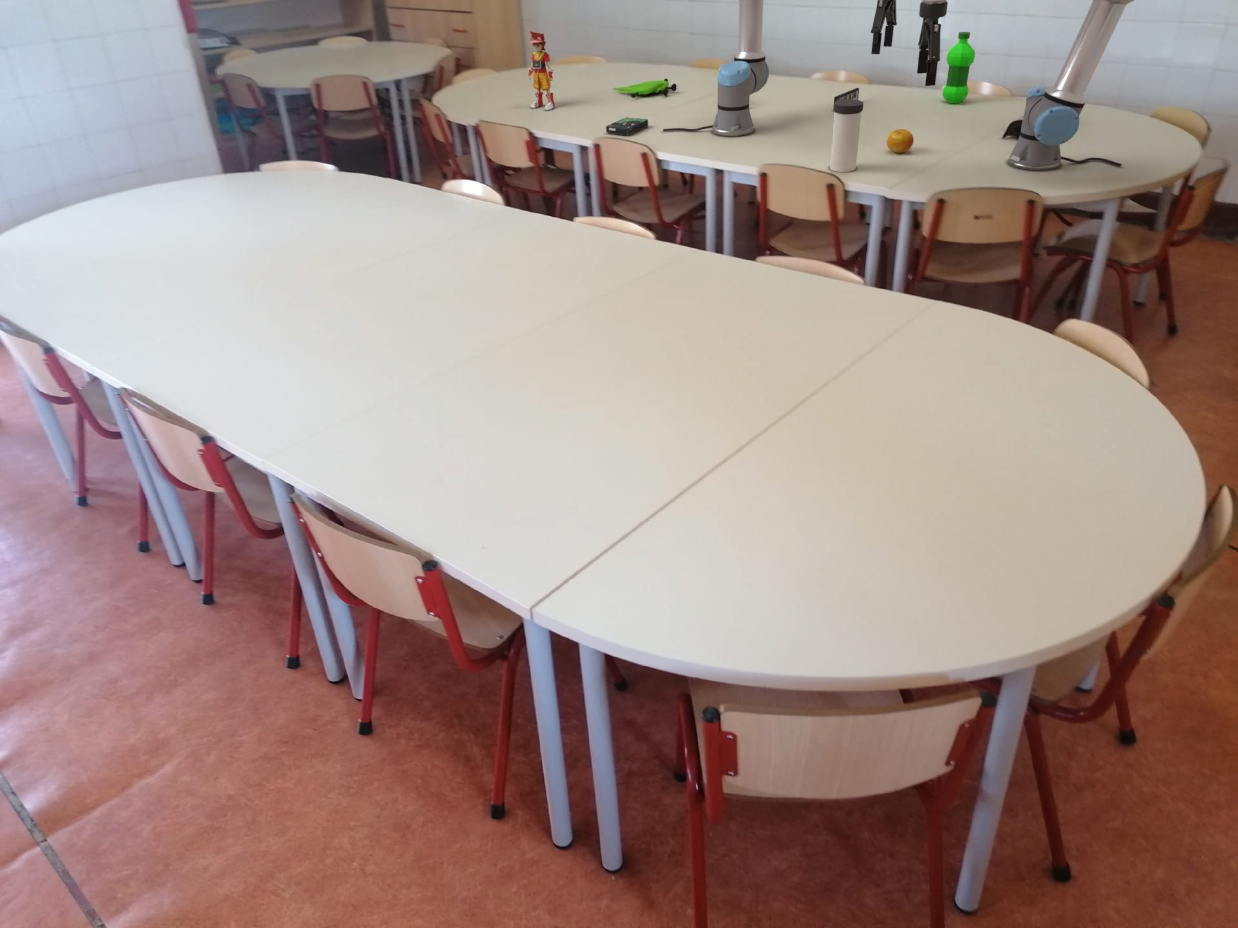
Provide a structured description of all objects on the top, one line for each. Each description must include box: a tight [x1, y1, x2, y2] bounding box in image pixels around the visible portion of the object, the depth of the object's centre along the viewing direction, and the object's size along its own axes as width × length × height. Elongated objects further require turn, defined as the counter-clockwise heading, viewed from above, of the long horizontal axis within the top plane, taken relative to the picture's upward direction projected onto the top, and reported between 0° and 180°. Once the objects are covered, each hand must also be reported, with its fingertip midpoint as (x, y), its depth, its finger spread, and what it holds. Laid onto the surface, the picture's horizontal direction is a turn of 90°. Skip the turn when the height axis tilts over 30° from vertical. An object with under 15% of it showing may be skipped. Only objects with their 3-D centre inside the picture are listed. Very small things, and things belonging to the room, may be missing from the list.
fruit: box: [886, 128, 915, 153], centre depth 303 cm, size 8×8×8 cm
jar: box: [829, 112, 862, 173], centre depth 288 cm, size 8×8×20 cm
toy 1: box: [527, 31, 556, 111], centre depth 374 cm, size 12×9×30 cm
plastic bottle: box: [942, 31, 976, 104], centre depth 348 cm, size 10×10×25 cm
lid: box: [833, 99, 864, 114], centre depth 282 cm, size 9×9×2 cm
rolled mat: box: [1002, 115, 1024, 140], centre depth 316 cm, size 30×9×10 cm
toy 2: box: [612, 78, 677, 99], centre depth 396 cm, size 28×5×30 cm
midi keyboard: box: [832, 87, 860, 111], centre depth 357 cm, size 18×1×5 cm, turn 138°
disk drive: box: [605, 116, 649, 136], centre depth 345 cm, size 10×3×15 cm
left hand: (881, 50), depth 308 cm, fingers open, 13 cm apart
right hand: (925, 79), depth 268 cm, fingers open, 13 cm apart
